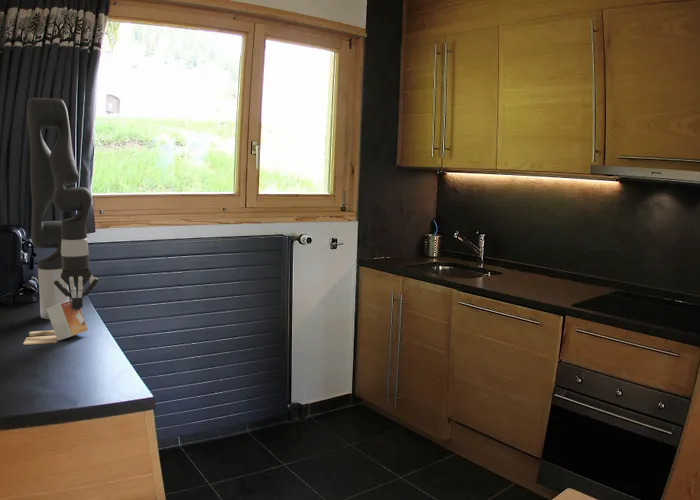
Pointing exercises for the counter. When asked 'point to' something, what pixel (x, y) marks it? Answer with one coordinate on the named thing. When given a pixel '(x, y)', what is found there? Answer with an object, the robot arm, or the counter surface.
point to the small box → (66, 320)
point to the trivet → (40, 340)
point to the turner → (41, 333)
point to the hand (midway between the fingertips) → (77, 309)
